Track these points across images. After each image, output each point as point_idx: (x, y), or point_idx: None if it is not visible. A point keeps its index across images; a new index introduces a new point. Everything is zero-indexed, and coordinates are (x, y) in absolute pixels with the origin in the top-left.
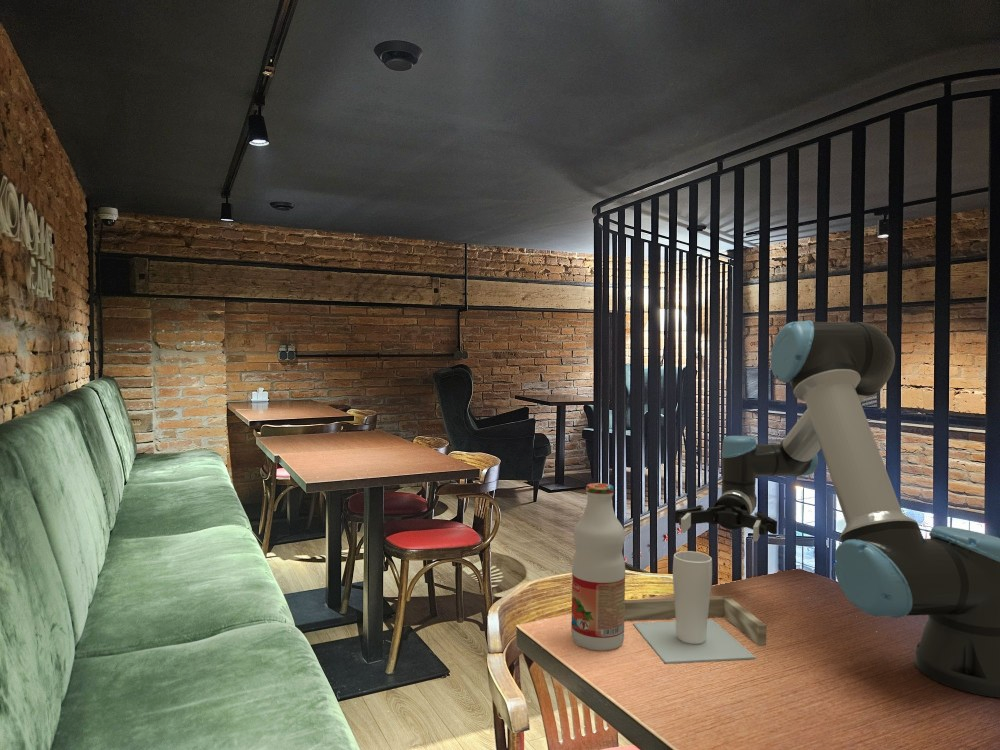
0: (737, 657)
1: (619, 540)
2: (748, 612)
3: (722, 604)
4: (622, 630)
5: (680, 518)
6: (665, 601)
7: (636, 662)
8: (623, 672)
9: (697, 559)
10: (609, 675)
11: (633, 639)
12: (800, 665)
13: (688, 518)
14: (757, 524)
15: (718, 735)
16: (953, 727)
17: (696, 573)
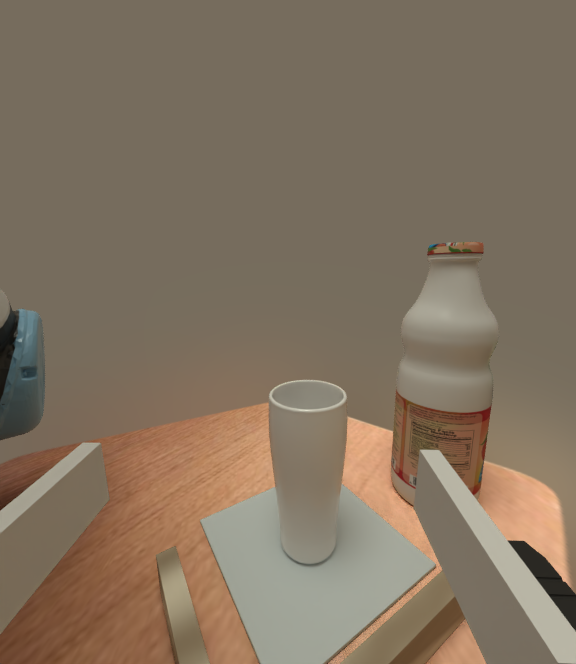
0: (229, 508)
1: (401, 328)
2: (175, 625)
3: None
4: (392, 463)
5: (517, 541)
6: (405, 605)
7: (352, 460)
8: (353, 442)
9: (304, 425)
10: (362, 435)
11: (393, 510)
12: (129, 530)
13: (471, 551)
14: (38, 484)
15: (256, 408)
16: (30, 464)
17: (293, 399)
